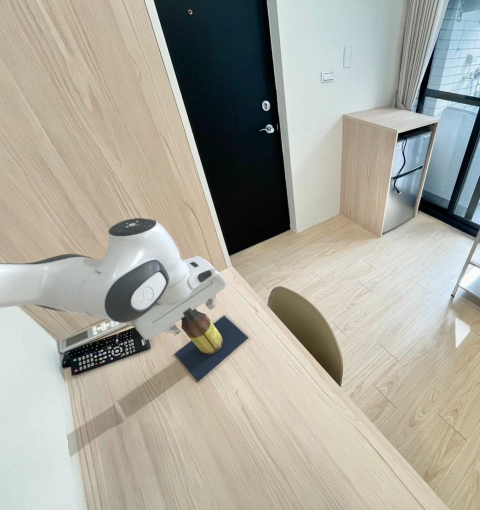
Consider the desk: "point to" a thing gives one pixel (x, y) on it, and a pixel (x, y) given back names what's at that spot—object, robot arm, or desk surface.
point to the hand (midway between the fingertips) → (194, 319)
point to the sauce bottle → (201, 331)
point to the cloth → (204, 363)
